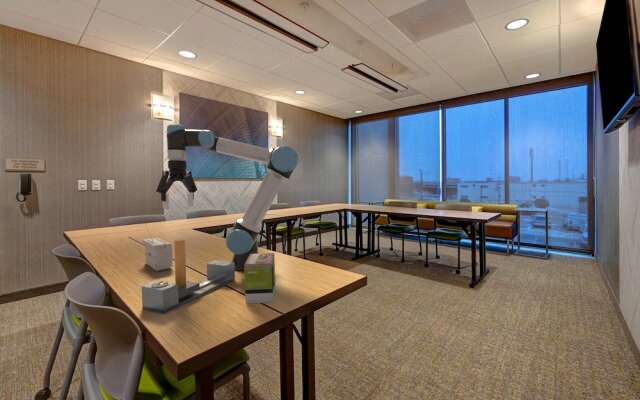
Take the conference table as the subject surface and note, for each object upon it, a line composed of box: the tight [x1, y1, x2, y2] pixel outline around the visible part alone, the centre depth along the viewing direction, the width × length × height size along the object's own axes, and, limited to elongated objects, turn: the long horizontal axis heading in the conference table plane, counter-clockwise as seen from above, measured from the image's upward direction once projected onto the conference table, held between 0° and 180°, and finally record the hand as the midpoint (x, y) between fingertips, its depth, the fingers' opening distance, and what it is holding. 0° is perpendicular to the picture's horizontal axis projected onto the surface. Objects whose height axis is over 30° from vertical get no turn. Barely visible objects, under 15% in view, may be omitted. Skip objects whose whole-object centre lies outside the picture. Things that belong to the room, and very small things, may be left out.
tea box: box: [243, 252, 276, 304], centre depth 112 cm, size 15×10×15 cm, turn 5°
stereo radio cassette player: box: [142, 227, 173, 272], centre depth 150 cm, size 21×8×20 cm, turn 45°
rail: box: [141, 259, 236, 315], centre depth 115 cm, size 36×10×9 cm, turn 158°
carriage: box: [173, 239, 200, 298], centre depth 109 cm, size 10×8×19 cm
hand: (178, 207), depth 133 cm, fingers open, 13 cm apart
